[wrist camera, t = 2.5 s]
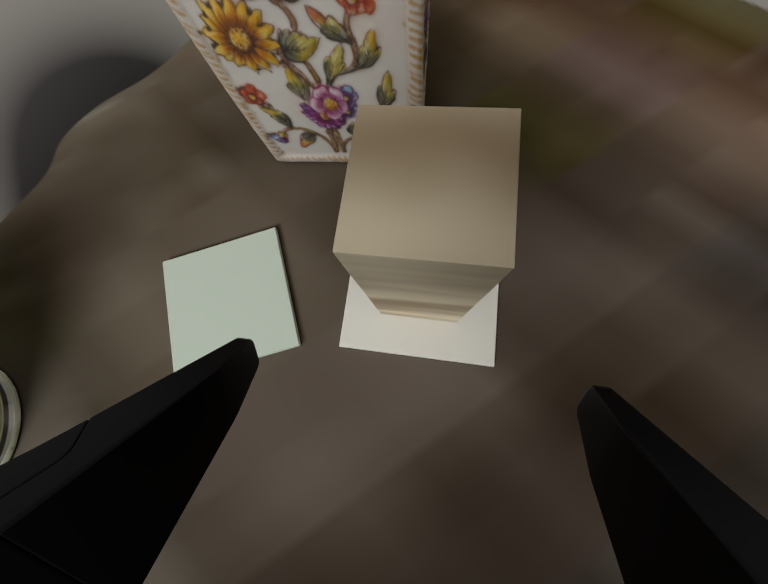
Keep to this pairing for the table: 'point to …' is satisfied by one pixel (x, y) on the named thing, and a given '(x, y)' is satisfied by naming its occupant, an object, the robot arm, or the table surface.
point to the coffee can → (8, 418)
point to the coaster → (230, 298)
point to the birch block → (430, 206)
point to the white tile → (421, 331)
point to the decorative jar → (311, 64)
